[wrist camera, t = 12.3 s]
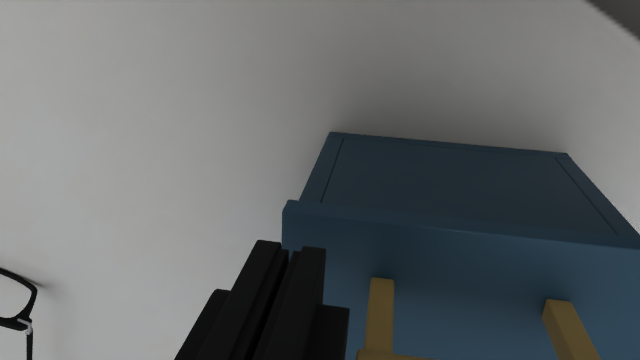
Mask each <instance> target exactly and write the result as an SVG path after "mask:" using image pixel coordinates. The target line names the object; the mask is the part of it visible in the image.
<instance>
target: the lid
mask: <svg viewBox="0 0 640 360" xmlns="http://www.w3.org/2000/svg"><path fill="white" fill-rule="evenodd" d="M303 246H310V247H318V248H325V249H326V262H325V277H324V292H323V304H325V305H332V306H339V307H346V308H350V316H349V326H348V336H347V345H346V353H345V360H640V238H636V237H626V236H617V235H608V234H599V233H590V232H581V231H571V230H562V229H553V228H544V227H535V226H526V225H517V224H507V223H498V222H489V221H480V220H471V219H462V218H453V217H443V216H434V215H425V214H416V213H407V212H398V211H389V210H379V209H370V208H361V207H352V206H343V205H334V204H324V203H315V202H306V201H297V200H288V201H287V203H286V205H285V207H284V209H283V211H282V249H287V250H289V261H290V258H291V256H292V253H293V251H301V250H302V247H303Z"/></svg>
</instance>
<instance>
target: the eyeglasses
mask: <svg viewBox="0 0 640 360" xmlns="http://www.w3.org/2000/svg"><path fill="white" fill-rule="evenodd" d="M0 274H2V275H4V276H7V277H9V278H11V279H13V280H16V281H17V282H19V283H21V284H23V285H24V286H26V287H27V288H29V289H30V290H31V292H32V294H31V297H30V300H29V302H28V304H27V305H26V307H25V308H24V309H23V310H22V311H21V312H20V313H19V314H17V315H16V316H14V317H12V318H3V317H0V326H3V327H6V328H10V329H14V330H18V331H23V330H26V329H28V330H27V331H26V332H25V333H26V334H27V360H32V347H33V328H32V326H31V323H32V319H30V318H29V315H30V313H31V311H32V308H33V305H34V303H35V300H36V296H37V288H36V287H35V286H34V285H33V284H31V283H30V282H28V281H26V280H24V279H23V278H21V277H19V276H17V275H15V274H12V273H10V272H8V271H5V270H3V269H0Z"/></svg>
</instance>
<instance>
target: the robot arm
mask: <svg viewBox="0 0 640 360" xmlns="http://www.w3.org/2000/svg"><path fill="white" fill-rule="evenodd" d="M325 262H326V249H325V248H318V247H310V246H303V247H302V250H301V251H293V253H292V256H291V258H290V261H289V250H287V249H282V245H281V243H280V242H272V241H265V240H257V242H256V244H255V246H254V247H253V249H252V251H251V253H250V255H249V257H248V259H247V261H246V263H245V265H244V267H243V268H242V270H241V272H240V274H239V276H238V278H237V280H236V282H235V284H234V286H233V288H232V289H231V291H229V290H222V289H216V290H215V291H214V292H213V293H212V295H211V296H210V298H209V300H208V302H207V303H206V305H205V307H204V309H203V310H202V312H201V314H200V316H199V317H198V319H197V321H196V323H195V324H194V326H193V328H192V329H191V331H190V333H189V335H188V336H187V338H186V340H185V342H184V343H183V345H182V347H181V349H180V350H179V352H178V354H177V356H176V357H175V359H174V360H345V353H346V345H347V336H348V326H349V316H350V308H346V307H339V306H332V305H325V304H323V292H324V277H325Z"/></svg>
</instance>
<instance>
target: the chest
mask: <svg viewBox="0 0 640 360" xmlns="http://www.w3.org/2000/svg"><path fill="white" fill-rule="evenodd" d="M299 201H306V202H315V203H324V204H334V205H343V206H352V207H361V208H370V209H379V210H389V211H398V212H407V213H416V214H425V215H434V216H443V217H453V218H462V219H471V220H480V221H489V222H498V223H507V224H517V225H526V226H535V227H544V228H553V229H562V230H571V231H581V232H590V233H599V234H608V235H617V236H626V237H636V238H640V235H639V234H638V232H637V231H636V230H635V229H634V228H633V227H632V226H631V225H630V223H629V222H628V221H627V220H626V219H625V218H624V217H623V216H622V215H621V213H620V212H619V211H618V210H617V209H616V208H615V207H614V206H613V205H612V203H611V202H610V201H609V200H608V199H607V198H606V197H605V196H604V195H603V193H602V192H601V191H600V190H599V189H598V188H597V187H596V186H595V185H594V183H593V182H592V181H591V180H590V179H589V178H588V177H587V176H586V175H585V173H584V172H583V171H582V170H581V169H580V168H579V167H578V166H577V165H576V163H575V162H574V161H573V160H572V158H571V157H570V156H569V155H568V154H567V153H556V152H545V151H534V150H523V149H512V148H501V147H490V146H479V145H469V144H458V143H447V142H436V141H425V140H414V139H403V138H392V137H381V136H370V135H359V134H348V133H337V132H329V135H328V137H327V139H326V141H325V144H324V146H323V148H322V150H321V152H320V155H319V157H318V159H317V161H316V164H315V166H314V168H313V170H312V172H311V175H310V177H309V179H308V181H307V183H306V186H305V188H304V190H303V192H302V195H301V197H300V199H299Z"/></svg>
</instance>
